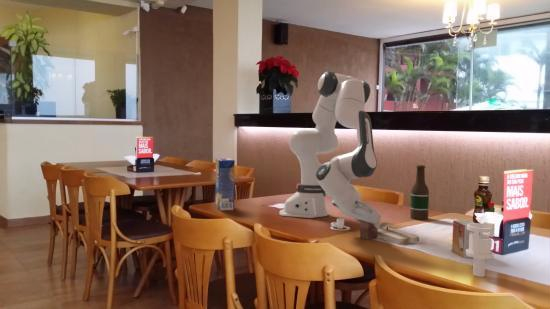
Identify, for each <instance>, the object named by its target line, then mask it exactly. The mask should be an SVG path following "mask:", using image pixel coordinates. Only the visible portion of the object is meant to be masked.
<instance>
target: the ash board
mask: <svg viewBox="0 0 550 309" xmlns="http://www.w3.org/2000/svg"><path fill="white" fill-rule="evenodd" d="M378 238H379V239H381V240H385V241H388V242H391V243H393V244H396V245H398V246H400V245H408V244H409V245H410V244H417V243H420V236H417V235H415V234H412V233H408V232H405V231H402V230H400V229H399V230H398V229H395V228H392V227H388V230H387V227H382V228H379V229H378V237H377V239H378Z"/></svg>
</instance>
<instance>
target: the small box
mask: <svg viewBox="0 0 550 309" xmlns="http://www.w3.org/2000/svg"><path fill="white" fill-rule="evenodd" d="M471 223H474V222H473V221H471V220H466V219H465V220H464V219H461V220H459V219H457V220H456V219H454V220H453V222H452V224H453V225H452V240H451V242H452V243H451V244H452V245H451V252H452V253H455V254H456V255H458V256H460V257H461V258H463V259H467V258H468V259H470V258H472V259H473V257H469V256H467V255H466V249H469V234H470V232H472V233H474V231H470V230H467V224H471ZM476 228H477V227H476ZM481 232H482V231H481ZM481 232H479V236H480V235H481Z"/></svg>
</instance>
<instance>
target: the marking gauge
mask: <svg viewBox="0 0 550 309" xmlns="http://www.w3.org/2000/svg"><path fill="white" fill-rule="evenodd" d="M378 223H379V224H380V228H382V227H387V230H388V227H389V228H391V221H383V222H380V221H379V222H378ZM359 224H360V228H359V236H360V238H362V239H366V240H375V239H378V229H376V228H375V227H374V226H373V224H372V223H369V222H366V221H363V220H361V222H360V223H359Z"/></svg>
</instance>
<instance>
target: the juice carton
mask: <svg viewBox="0 0 550 309" xmlns="http://www.w3.org/2000/svg"><path fill="white" fill-rule="evenodd" d="M235 161H236V160H234V159H233V158H215V185H214V186H215V190H214V191H215V194H214V196H215V199H214V200H215V204H214V205H215V208H216V209H217V210H218V211H233V210H235V174H236V173H235V168H236V167H235V166H236V165H235V163H236V162H235Z"/></svg>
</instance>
